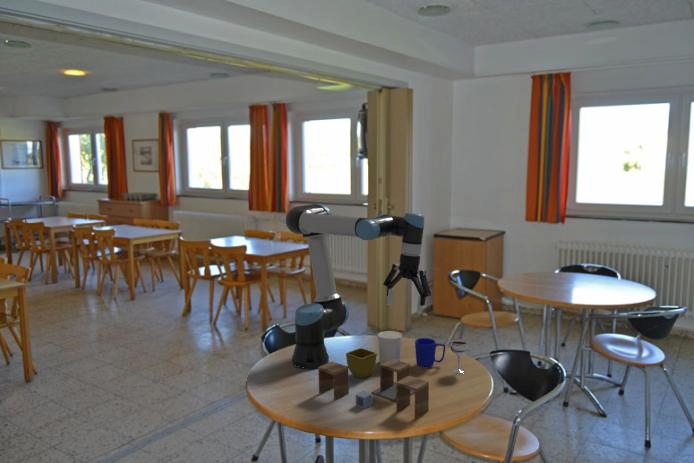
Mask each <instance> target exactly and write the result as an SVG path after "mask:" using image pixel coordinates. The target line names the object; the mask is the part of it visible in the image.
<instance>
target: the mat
mask: <svg viewBox="0 0 694 463" xmlns="http://www.w3.org/2000/svg"><path fill="white" fill-rule="evenodd" d="M371 394H372V395H376V396H379V397H382V398H385V399H388V400H390V401H394V402H396V382H395V381H394V385H393V386H391V387H390V388H388V389H386V390H384V391H382V392H381V391H380V387H378V388H377V389H376V388H375V389H374V390H373V391H371ZM412 395H415V391H413V390H410V397H411V396H412Z"/></svg>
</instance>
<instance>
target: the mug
mask: <svg viewBox="0 0 694 463" xmlns="http://www.w3.org/2000/svg"><path fill="white" fill-rule="evenodd" d="M439 346H441V347H443V351H442V356H441V358H440V359H438V360H437V359H436V349H437V347H439ZM414 348H415V359H416V360H415V362H416V365H418V367H420V368H431V367H432V366H434V363H437V364H438V363H442V362H443V361H444V357H445V354H446V344H445V343H439V342H438V343H436V340H434V339H432V338H427V337H421V338H420V337H419V338H417V339H415V340H414Z"/></svg>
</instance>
